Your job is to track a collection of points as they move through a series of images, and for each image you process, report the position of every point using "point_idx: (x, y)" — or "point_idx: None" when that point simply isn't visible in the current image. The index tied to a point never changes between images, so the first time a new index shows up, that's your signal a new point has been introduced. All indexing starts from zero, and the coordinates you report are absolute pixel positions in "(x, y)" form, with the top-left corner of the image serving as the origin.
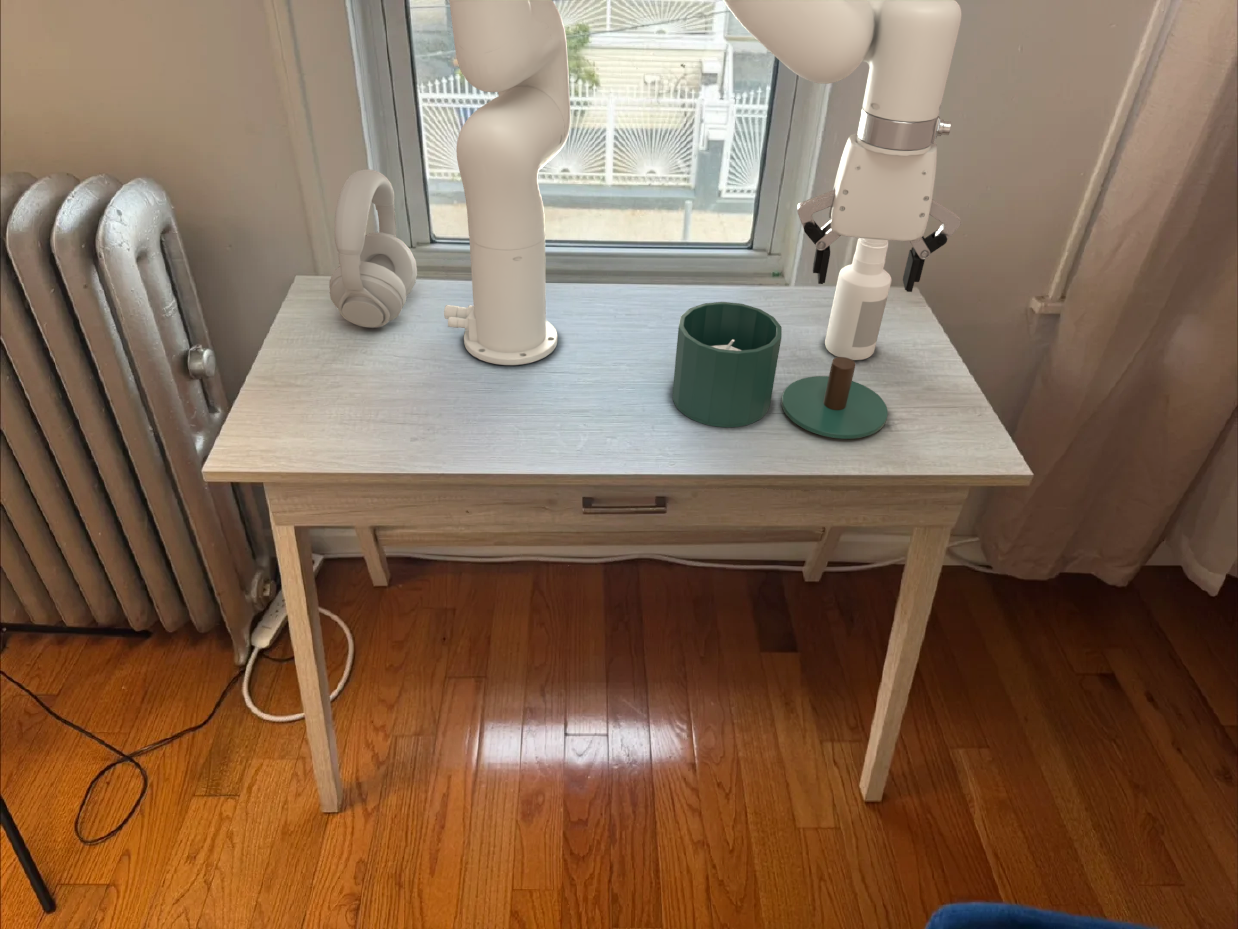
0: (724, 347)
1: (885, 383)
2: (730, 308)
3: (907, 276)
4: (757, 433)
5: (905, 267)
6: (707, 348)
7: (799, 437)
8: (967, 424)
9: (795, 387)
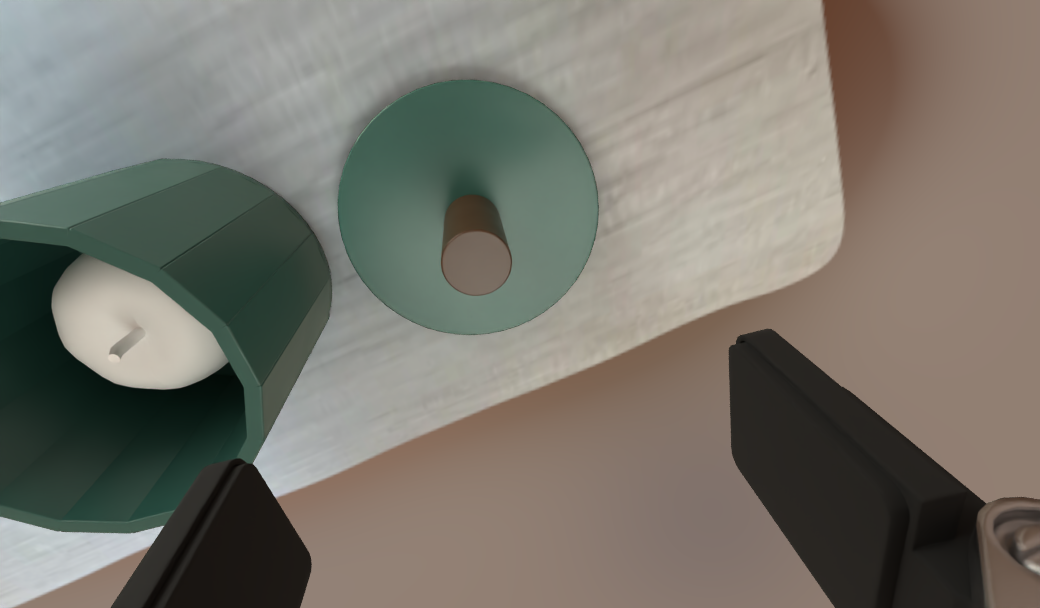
0: (101, 306)
1: (580, 4)
2: None
3: (771, 488)
4: (344, 358)
5: (776, 389)
6: (96, 532)
7: (428, 335)
8: (776, 128)
9: (359, 190)
